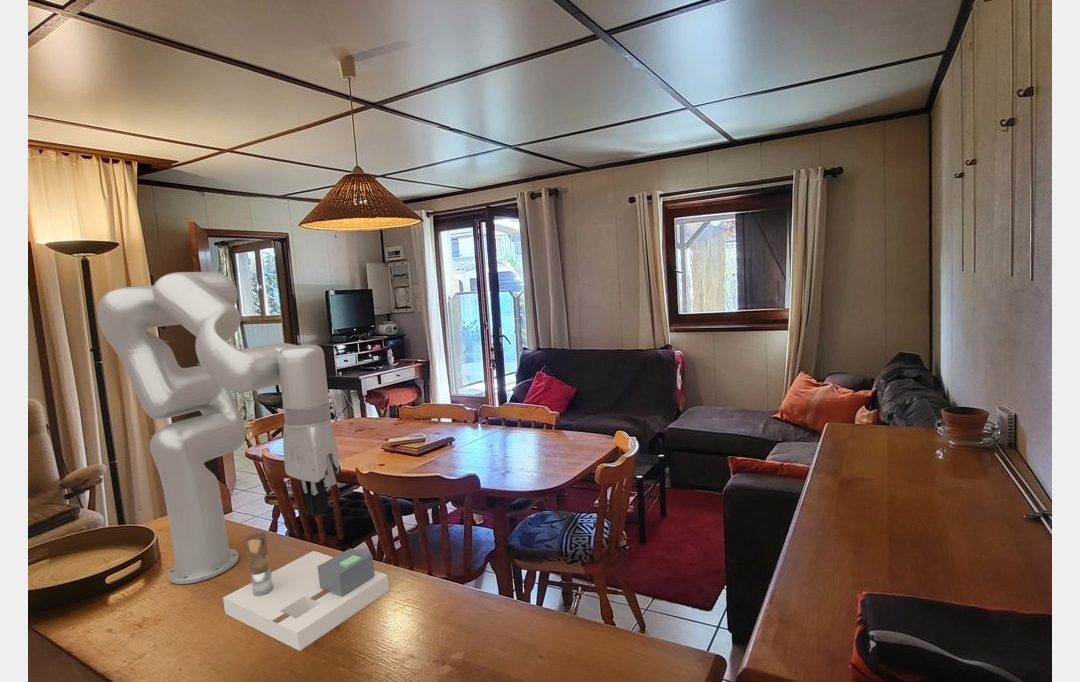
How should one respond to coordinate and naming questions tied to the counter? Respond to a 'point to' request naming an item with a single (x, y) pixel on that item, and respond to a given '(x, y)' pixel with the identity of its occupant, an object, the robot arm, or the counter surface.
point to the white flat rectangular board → (301, 602)
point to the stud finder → (345, 571)
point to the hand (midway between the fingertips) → (318, 512)
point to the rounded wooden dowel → (259, 564)
